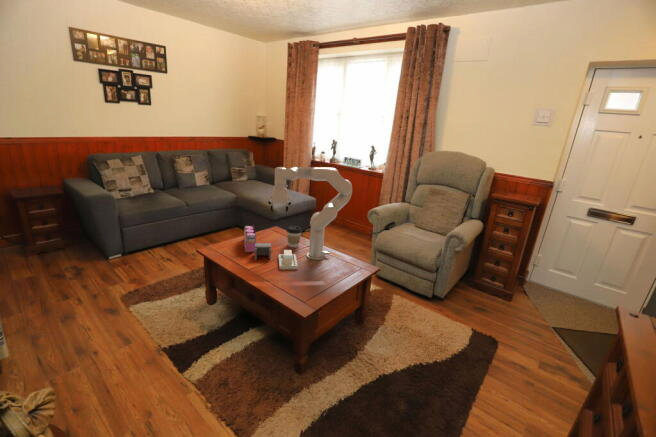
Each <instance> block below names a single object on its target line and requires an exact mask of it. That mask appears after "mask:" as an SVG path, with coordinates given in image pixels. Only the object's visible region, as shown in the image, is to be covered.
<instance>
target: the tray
mask: <svg viewBox="0 0 656 437" xmlns="http://www.w3.org/2000/svg"><path fill="white" fill-rule="evenodd" d="M292 258H293V259H292V265H284V253H282V254H281V253H279V254H278V267H279V268H278V269H279V271H280V270H281V271H282V270H286V271H287V270H294V271H296V270H298V268H299V267H298V260H297V255H296V254H295V253H294V254H293V253H292Z"/></svg>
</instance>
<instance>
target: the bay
mask: <svg viewBox="0 0 656 437" xmlns="http://www.w3.org/2000/svg"><path fill="white" fill-rule="evenodd" d="M258 256H268V261H271V258H272V242H256V243H255V252H254V260H255V261H257V257H258Z"/></svg>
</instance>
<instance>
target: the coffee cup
mask: <svg viewBox="0 0 656 437" xmlns="http://www.w3.org/2000/svg"><path fill="white" fill-rule="evenodd" d="M302 232H303V229H302V228H301V227H300V226H298V225H290V226H287V229H286V233H287V246H288V247H289V248H292V247H293V248H294V247H295V248H298V247H299V245H300V240H301V235H302ZM295 248H294V249H295Z"/></svg>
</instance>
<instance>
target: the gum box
mask: <svg viewBox="0 0 656 437" xmlns="http://www.w3.org/2000/svg"><path fill="white" fill-rule="evenodd" d="M243 231H244V232H243V242H244V243H243V244H244V249H245V253H249V252H254V253H255V243H257V233H256V229H255V226H254V225H244V226H243Z"/></svg>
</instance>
